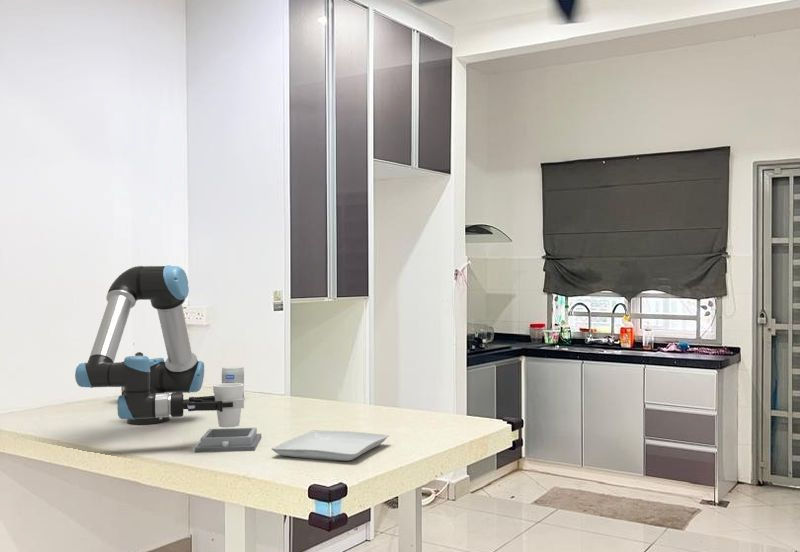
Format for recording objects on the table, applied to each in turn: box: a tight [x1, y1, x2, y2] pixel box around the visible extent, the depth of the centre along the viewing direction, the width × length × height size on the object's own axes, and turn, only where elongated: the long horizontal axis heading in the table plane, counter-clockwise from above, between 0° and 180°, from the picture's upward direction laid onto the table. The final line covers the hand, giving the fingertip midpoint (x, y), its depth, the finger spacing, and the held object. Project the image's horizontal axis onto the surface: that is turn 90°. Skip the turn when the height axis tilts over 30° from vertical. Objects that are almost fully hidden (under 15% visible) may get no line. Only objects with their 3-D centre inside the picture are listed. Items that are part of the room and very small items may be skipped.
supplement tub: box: [221, 365, 245, 400], centre depth 332 cm, size 10×10×15 cm
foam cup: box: [213, 383, 245, 428], centre depth 242 cm, size 10×9×13 cm
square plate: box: [271, 430, 390, 462], centre depth 231 cm, size 27×27×4 cm
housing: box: [194, 426, 262, 453], centre depth 243 cm, size 20×18×4 cm
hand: (243, 401), depth 243 cm, fingers closed on foam cup, 9 cm apart
